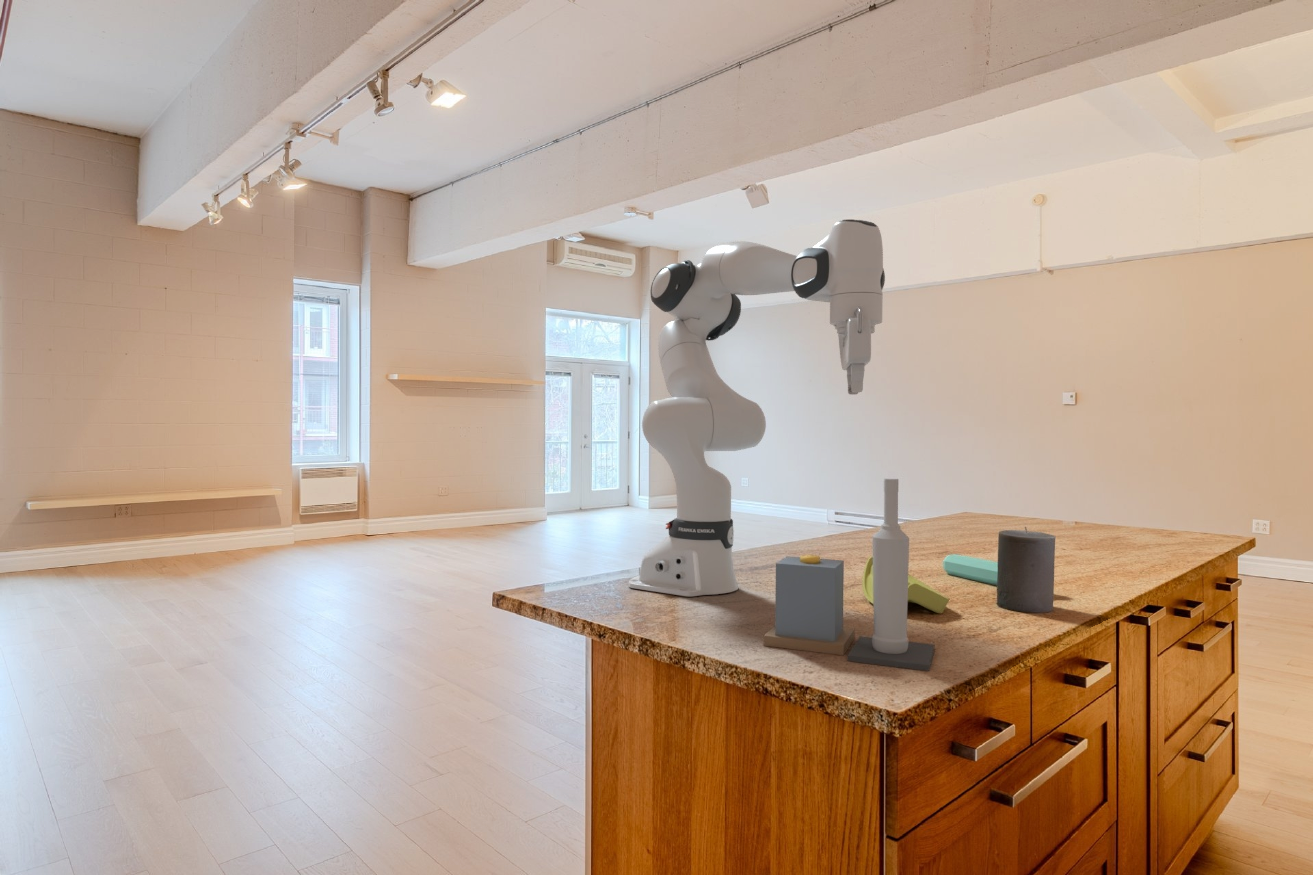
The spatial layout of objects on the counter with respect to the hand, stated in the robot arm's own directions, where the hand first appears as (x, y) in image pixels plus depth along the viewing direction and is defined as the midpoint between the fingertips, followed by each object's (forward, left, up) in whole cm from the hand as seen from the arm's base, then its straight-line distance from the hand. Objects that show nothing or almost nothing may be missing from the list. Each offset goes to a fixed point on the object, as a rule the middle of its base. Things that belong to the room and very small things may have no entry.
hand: (854, 393), depth 135 cm
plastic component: (+6, +16, -40) cm, 43 cm away
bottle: (+9, -20, -38) cm, 44 cm away
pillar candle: (+28, +22, -39) cm, 53 cm away
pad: (+9, -20, -39) cm, 45 cm away
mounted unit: (-4, -18, -39) cm, 43 cm away
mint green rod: (+22, +43, -40) cm, 63 cm away
